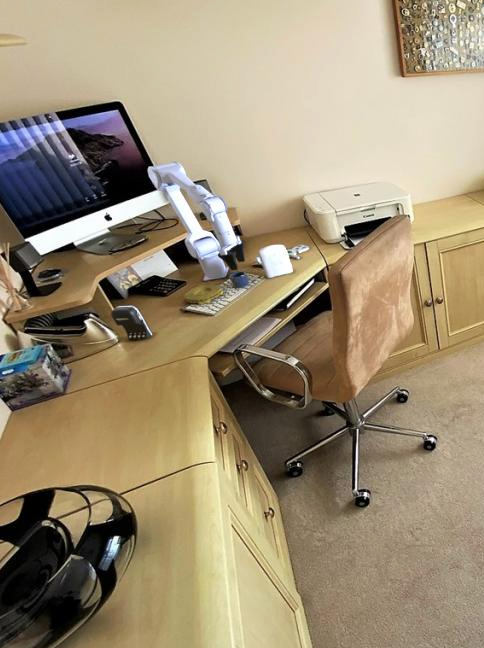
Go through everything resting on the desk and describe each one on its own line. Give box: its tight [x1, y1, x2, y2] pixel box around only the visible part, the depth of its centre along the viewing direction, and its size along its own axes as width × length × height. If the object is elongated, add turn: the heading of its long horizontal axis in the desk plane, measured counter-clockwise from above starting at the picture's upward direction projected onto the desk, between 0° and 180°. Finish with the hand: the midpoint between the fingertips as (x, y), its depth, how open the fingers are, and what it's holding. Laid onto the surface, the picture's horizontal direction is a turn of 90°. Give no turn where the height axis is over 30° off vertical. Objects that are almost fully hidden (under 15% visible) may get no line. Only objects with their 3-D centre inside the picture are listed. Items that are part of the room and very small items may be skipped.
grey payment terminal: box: [110, 305, 154, 341], centre depth 135 cm, size 7×4×11 cm, turn 92°
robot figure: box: [255, 244, 310, 266], centre depth 189 cm, size 16×3×22 cm
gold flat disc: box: [183, 283, 224, 305], centre depth 160 cm, size 12×12×2 cm
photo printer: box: [258, 244, 294, 279], centre depth 171 cm, size 10×4×12 cm, turn 123°
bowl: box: [228, 271, 250, 289], centre depth 166 cm, size 6×6×4 cm
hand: (238, 265), depth 161 cm, fingers open, 7 cm apart
